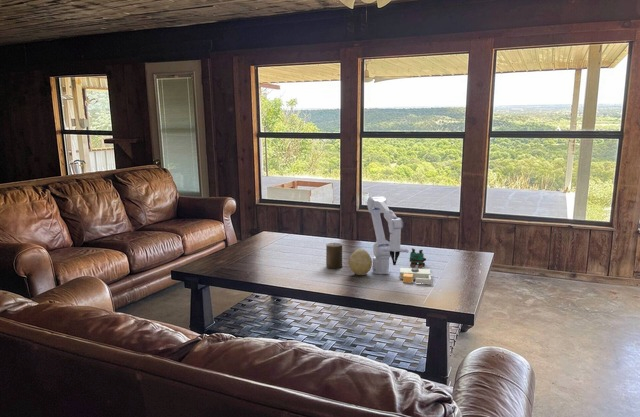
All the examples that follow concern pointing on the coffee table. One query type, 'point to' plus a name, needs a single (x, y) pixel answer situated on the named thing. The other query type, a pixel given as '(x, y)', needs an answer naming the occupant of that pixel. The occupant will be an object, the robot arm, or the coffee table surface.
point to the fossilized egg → (360, 262)
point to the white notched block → (417, 274)
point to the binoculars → (417, 258)
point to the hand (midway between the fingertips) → (394, 264)
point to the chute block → (407, 277)
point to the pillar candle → (334, 255)
